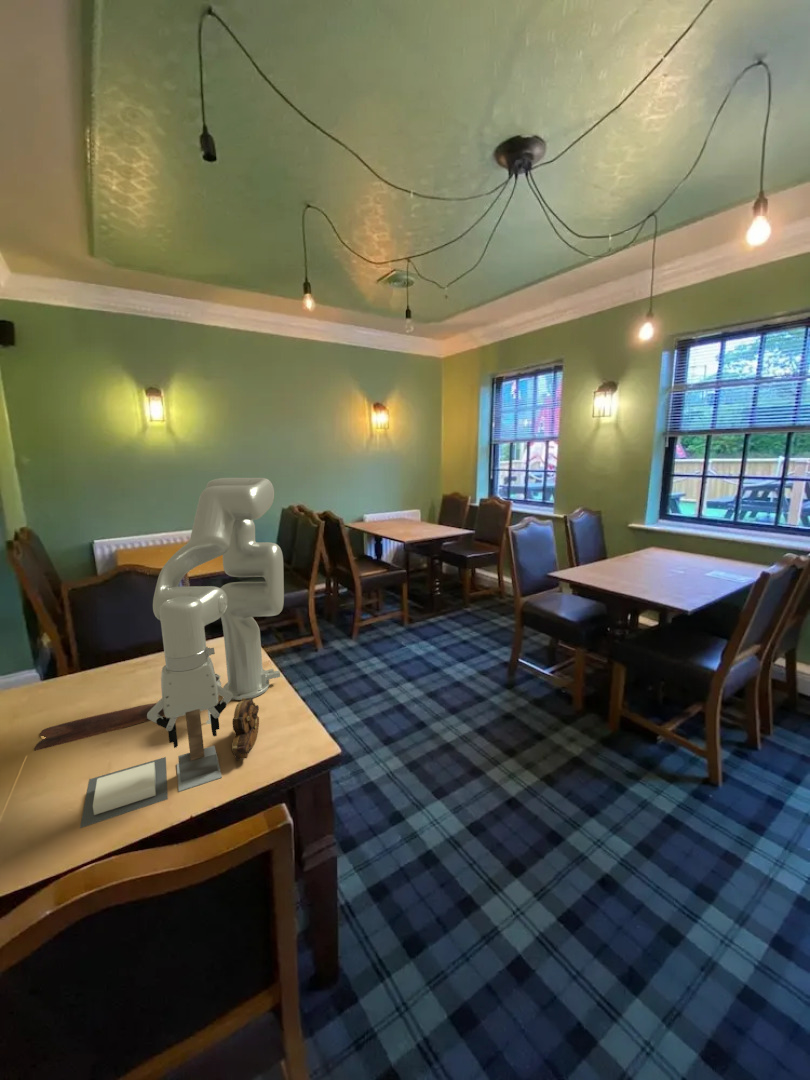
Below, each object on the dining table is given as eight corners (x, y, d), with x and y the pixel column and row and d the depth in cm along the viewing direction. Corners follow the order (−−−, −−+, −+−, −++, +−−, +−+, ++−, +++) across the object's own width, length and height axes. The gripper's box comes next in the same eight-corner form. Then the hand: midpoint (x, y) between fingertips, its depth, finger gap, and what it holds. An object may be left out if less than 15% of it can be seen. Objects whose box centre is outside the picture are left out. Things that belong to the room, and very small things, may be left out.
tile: (154, 761, 94) (154, 786, 87) (155, 771, 95) (155, 796, 88) (97, 778, 89) (92, 805, 82) (98, 788, 90) (94, 816, 83)
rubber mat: (166, 759, 99) (165, 756, 99) (167, 801, 87) (167, 798, 87) (89, 781, 93) (89, 779, 92) (80, 830, 81) (79, 828, 80)
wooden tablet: (162, 696, 123) (164, 710, 114) (163, 704, 123) (165, 718, 115) (39, 728, 109) (31, 746, 101) (41, 737, 110) (33, 755, 101)
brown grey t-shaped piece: (216, 761, 97) (210, 699, 94) (217, 770, 94) (211, 706, 91) (180, 772, 94) (172, 708, 91) (180, 781, 91) (173, 716, 88)
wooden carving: (254, 766, 97) (251, 725, 95) (232, 769, 96) (228, 727, 94) (262, 722, 113) (259, 686, 111) (243, 724, 112) (240, 688, 110)
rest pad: (216, 755, 100) (216, 751, 100) (222, 780, 93) (221, 776, 93) (177, 767, 97) (176, 763, 97) (179, 794, 89) (178, 790, 89)
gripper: (229, 642, 97) (236, 717, 100) (137, 661, 89) (147, 741, 92) (235, 656, 90) (242, 735, 94) (135, 677, 82) (147, 763, 86)
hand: (195, 737), depth 93 cm, fingers open, 6 cm apart
